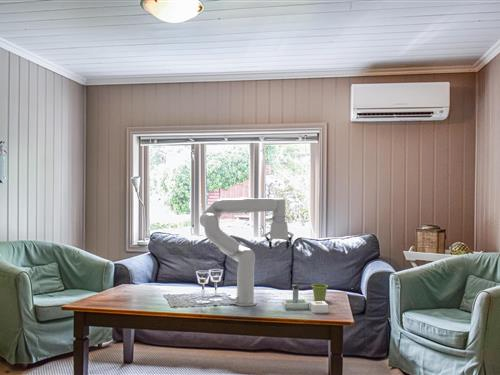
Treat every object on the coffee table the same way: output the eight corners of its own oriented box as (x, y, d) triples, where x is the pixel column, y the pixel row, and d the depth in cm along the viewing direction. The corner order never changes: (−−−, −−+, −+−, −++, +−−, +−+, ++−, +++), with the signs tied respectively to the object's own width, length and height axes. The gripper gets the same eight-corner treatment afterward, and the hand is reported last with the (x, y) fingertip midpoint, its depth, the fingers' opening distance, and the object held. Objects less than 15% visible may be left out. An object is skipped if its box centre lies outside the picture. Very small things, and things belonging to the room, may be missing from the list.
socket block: (313, 312, 211) (313, 305, 211) (309, 308, 219) (309, 301, 219) (328, 312, 212) (328, 304, 212) (324, 308, 220) (324, 301, 220)
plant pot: (327, 302, 232) (327, 287, 233) (311, 301, 234) (311, 286, 234) (327, 298, 241) (327, 284, 242) (311, 298, 243) (311, 283, 244)
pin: (292, 306, 220) (292, 285, 221) (291, 304, 225) (291, 284, 225) (300, 306, 221) (300, 285, 221) (298, 304, 225) (298, 284, 225)
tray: (285, 309, 217) (285, 304, 217) (282, 304, 227) (282, 299, 227) (309, 309, 218) (309, 303, 218) (305, 304, 228) (305, 299, 228)
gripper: (265, 219, 234) (265, 249, 234) (294, 219, 235) (294, 249, 235) (263, 219, 242) (263, 247, 241) (292, 219, 243) (292, 247, 242)
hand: (278, 248), depth 238 cm, fingers open, 9 cm apart
